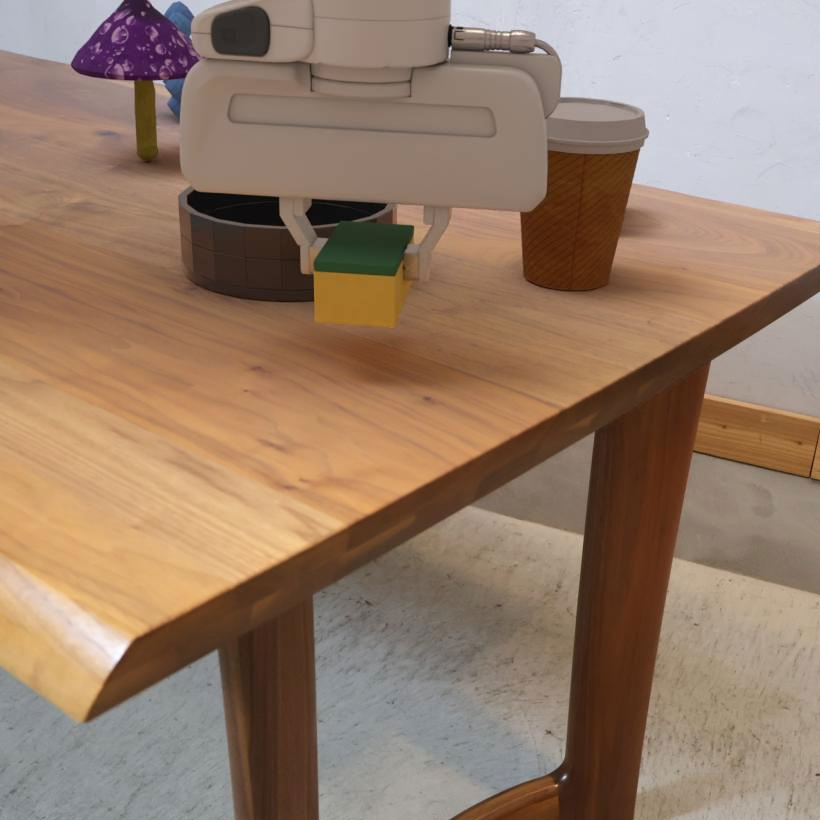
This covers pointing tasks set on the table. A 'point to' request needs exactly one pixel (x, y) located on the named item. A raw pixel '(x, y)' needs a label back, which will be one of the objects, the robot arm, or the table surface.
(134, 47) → the decorative mushroom
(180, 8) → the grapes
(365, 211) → the bowl
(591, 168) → the disposable coffee cup
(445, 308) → the table surface
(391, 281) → the sponge
